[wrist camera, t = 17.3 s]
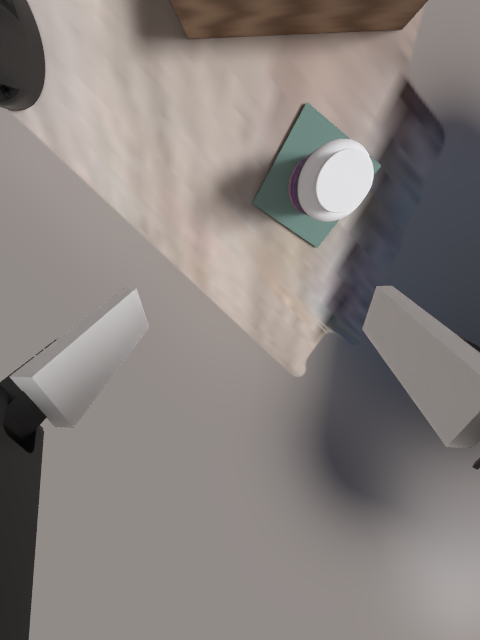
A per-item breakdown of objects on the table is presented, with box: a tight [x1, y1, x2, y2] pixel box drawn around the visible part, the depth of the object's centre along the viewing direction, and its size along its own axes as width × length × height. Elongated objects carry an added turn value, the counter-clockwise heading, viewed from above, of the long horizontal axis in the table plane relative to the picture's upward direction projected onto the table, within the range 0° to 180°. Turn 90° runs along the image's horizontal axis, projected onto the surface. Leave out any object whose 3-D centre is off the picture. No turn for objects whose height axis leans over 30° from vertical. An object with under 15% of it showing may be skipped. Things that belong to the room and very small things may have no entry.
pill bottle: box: [289, 139, 374, 222], centre depth 27 cm, size 8×8×14 cm
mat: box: [252, 103, 381, 248], centre depth 34 cm, size 14×14×1 cm
